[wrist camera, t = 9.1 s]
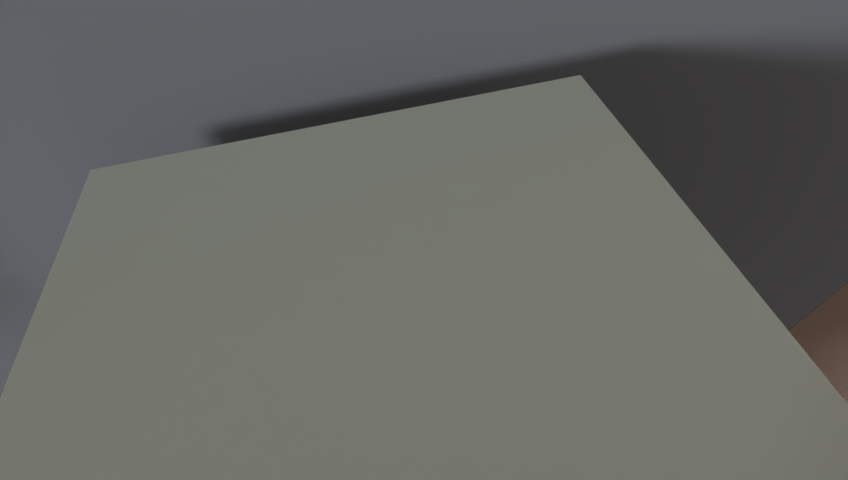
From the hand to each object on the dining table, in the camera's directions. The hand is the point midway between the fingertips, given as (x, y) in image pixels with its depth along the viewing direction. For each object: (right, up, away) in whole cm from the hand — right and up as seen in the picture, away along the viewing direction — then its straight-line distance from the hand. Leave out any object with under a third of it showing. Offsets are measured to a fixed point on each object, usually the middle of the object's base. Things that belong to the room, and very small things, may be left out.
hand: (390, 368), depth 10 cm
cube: (0, +1, +1) cm, 1 cm away
